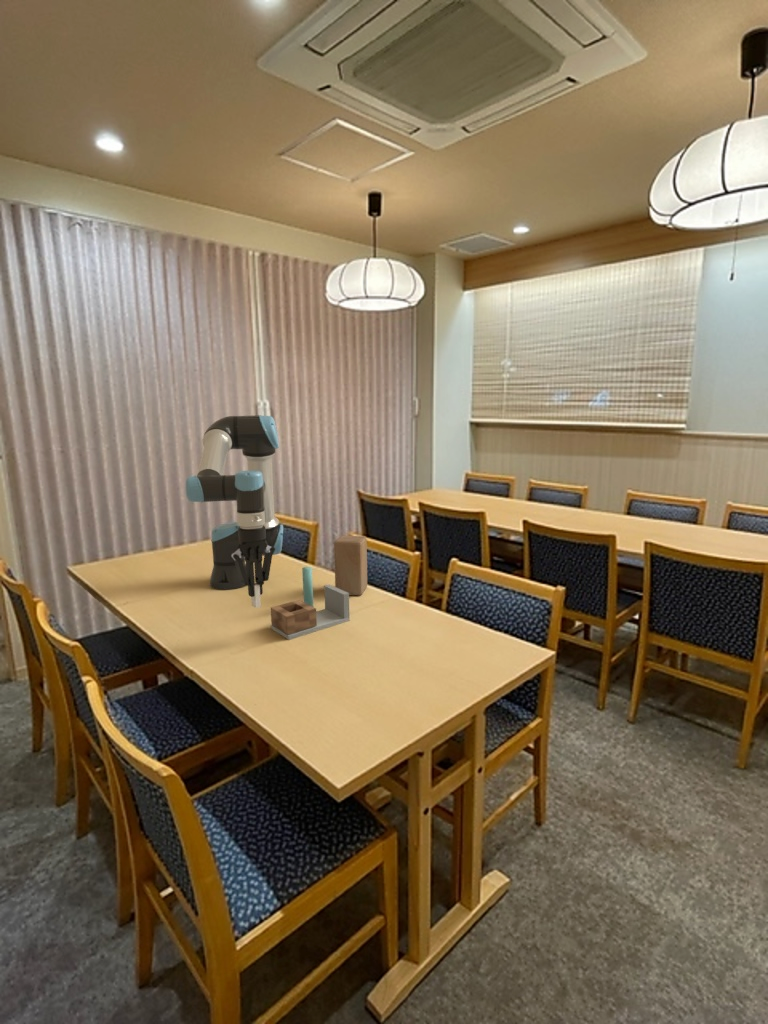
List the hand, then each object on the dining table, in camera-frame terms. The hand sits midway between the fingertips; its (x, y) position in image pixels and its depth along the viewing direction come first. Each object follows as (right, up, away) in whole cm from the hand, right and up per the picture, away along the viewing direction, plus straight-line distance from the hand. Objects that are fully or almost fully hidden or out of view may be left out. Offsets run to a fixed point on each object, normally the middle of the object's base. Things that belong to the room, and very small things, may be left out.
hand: (256, 606), depth 158 cm
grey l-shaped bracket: (+14, -8, +14) cm, 21 cm away
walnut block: (+9, -7, +10) cm, 15 cm away
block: (+25, -2, +44) cm, 50 cm away
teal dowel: (+11, -5, +27) cm, 30 cm away
